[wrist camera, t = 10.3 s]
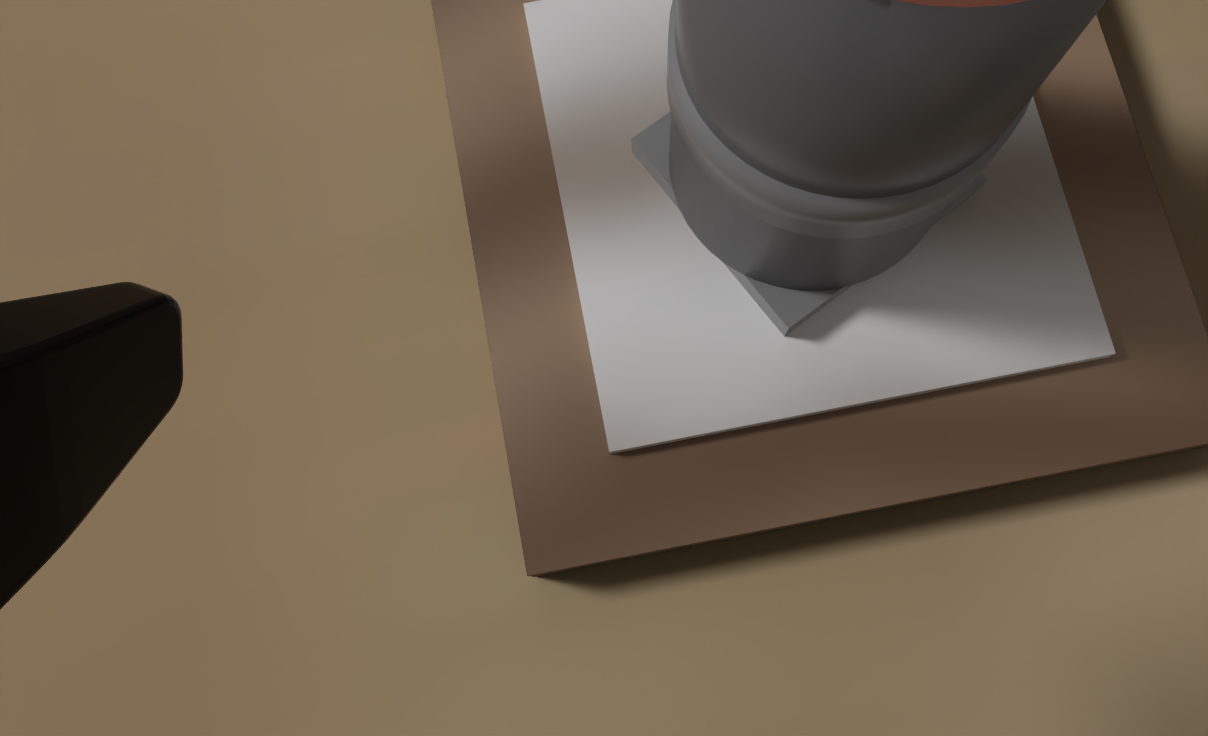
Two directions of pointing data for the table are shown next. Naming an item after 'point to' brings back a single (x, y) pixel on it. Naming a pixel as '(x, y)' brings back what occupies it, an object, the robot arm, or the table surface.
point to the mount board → (821, 343)
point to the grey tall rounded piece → (840, 127)
